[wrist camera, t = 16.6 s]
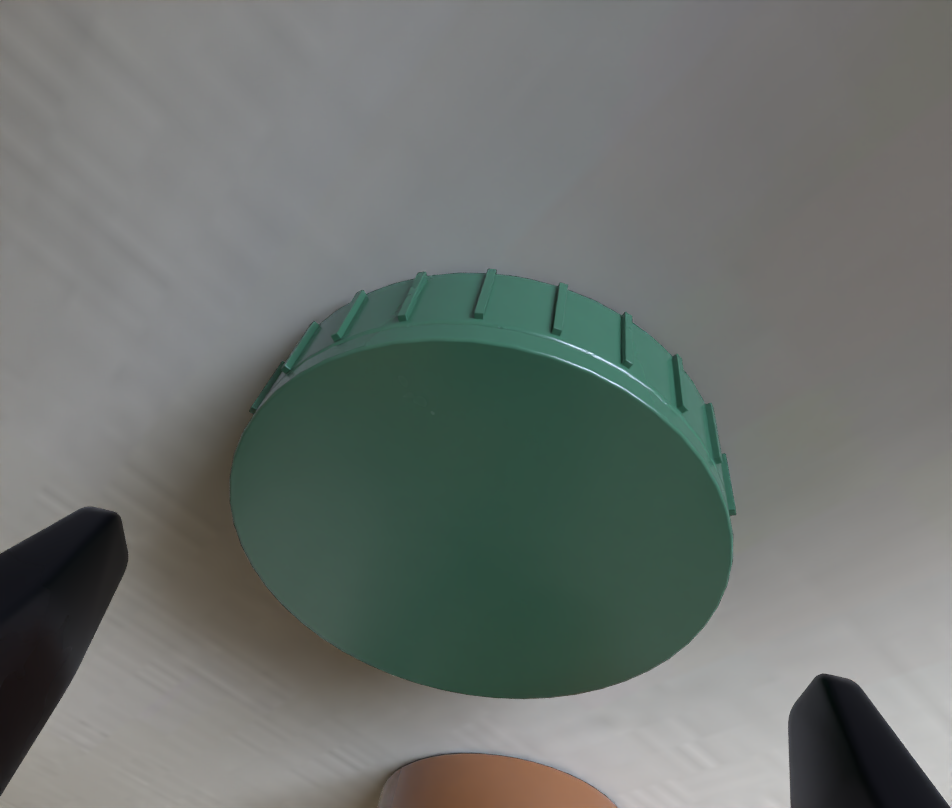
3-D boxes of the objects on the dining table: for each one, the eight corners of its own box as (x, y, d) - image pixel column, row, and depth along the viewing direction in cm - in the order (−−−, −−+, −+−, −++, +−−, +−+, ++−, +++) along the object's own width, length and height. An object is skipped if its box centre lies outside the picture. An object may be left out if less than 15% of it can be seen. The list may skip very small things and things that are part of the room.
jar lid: (762, 590, 12) (779, 682, 10) (387, 636, 14) (363, 716, 13) (657, 194, 8) (665, 258, 7) (183, 342, 11) (122, 410, 9)
